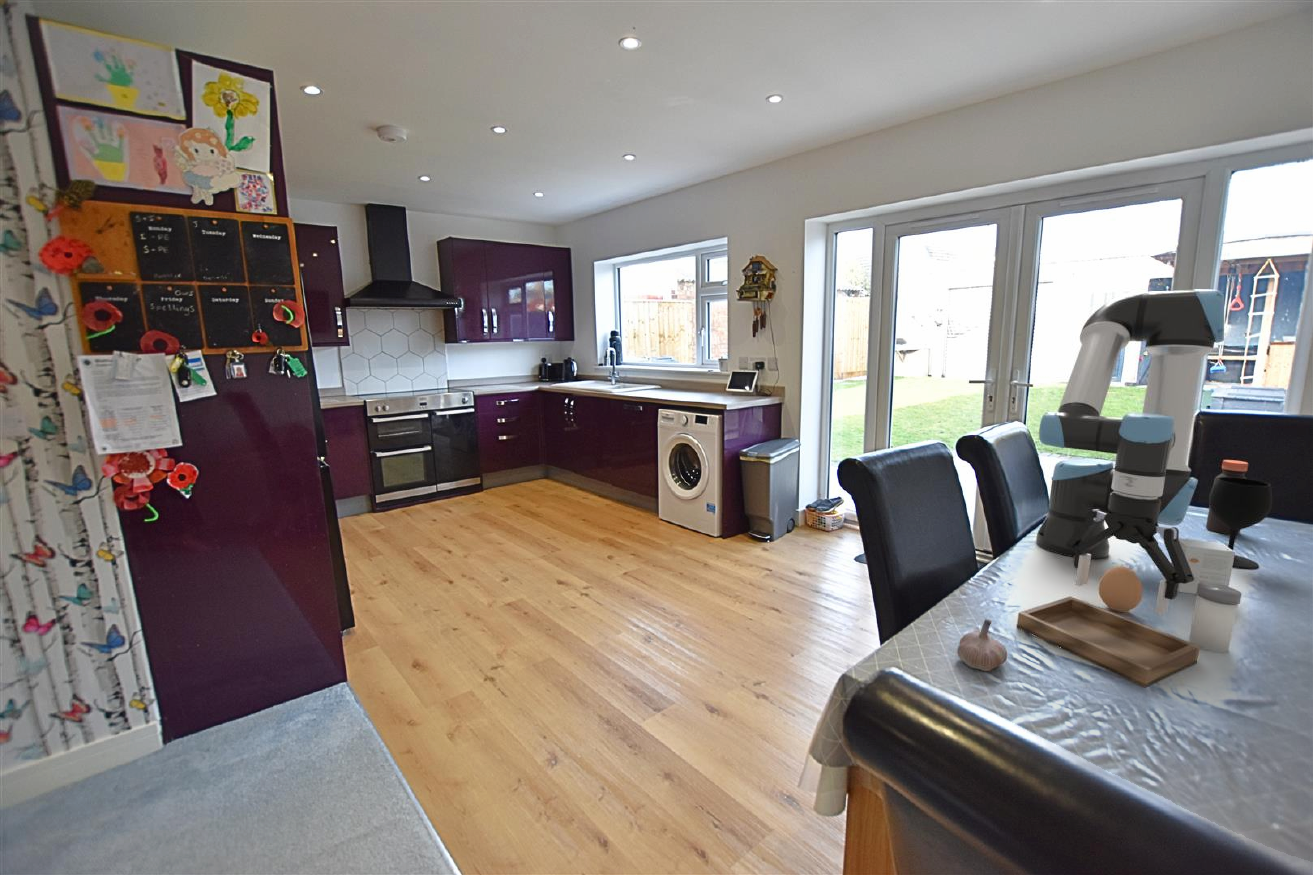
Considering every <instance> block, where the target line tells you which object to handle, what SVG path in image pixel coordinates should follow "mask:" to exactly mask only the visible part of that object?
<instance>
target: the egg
mask: <svg viewBox="0 0 1313 875" xmlns="http://www.w3.org/2000/svg"><path fill="white" fill-rule="evenodd" d="M1098 594H1099V596H1100V599H1101V601H1102V602H1103V603H1104V604H1105V606H1107V607H1108V608H1109V609H1111V610H1113V611H1115V612H1120V613H1121V612H1129V611H1132V610H1133V609H1135V608H1136V607H1138V605H1139V604H1140V602H1141V601H1142V598H1143V585H1142V583H1141V580H1140V579H1139V577H1138V575H1137V574H1136V573H1135V572H1134V571H1133V570H1132V569H1130V568H1129V567H1127V566H1123V565H1122V566H1115V567H1112V568H1109V570H1106V572H1105V573H1104V575H1102V576H1101V579H1100V581H1099V583H1098Z"/></svg>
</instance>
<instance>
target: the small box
mask: <svg viewBox="0 0 1313 875" xmlns="http://www.w3.org/2000/svg"><path fill="white" fill-rule="evenodd" d="M1179 542H1180V545H1181V547H1182V550H1183V552H1184V555H1185V557H1186V559H1187V562H1188V564H1189V567H1190V569H1191V572H1192V574H1193V576H1194V581H1192V582H1189V583H1185V584H1183V583H1179V586H1178V591H1177V593H1178V592H1179V593H1184V594H1191V595H1197V594H1196V592H1197V586H1198V583H1201V582H1208V583H1215V584H1220V585H1224V586H1228V587H1230V580H1231V577H1232V576H1231V575H1232V572H1233V570H1232V569H1233V567H1232V566H1233V561H1234V555H1236V554H1235V553H1236V552H1235V551H1234V549H1233V550H1231V549H1230V548H1229V547H1228V545H1225V544H1224V543H1223V542H1218V541H1217V542H1216V541H1207V540H1197V539H1191V538H1190V539H1188V538H1180V537H1179ZM1170 563H1171V564H1172V561H1170ZM1172 565H1173V564H1172ZM1173 567H1174V566H1173Z"/></svg>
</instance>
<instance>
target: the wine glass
mask: <svg viewBox="0 0 1313 875" xmlns="http://www.w3.org/2000/svg"><path fill="white" fill-rule="evenodd" d="M1208 502H1209V503H1208V504H1209V505H1208V506H1209V507H1210V509H1211V511H1212V512H1213V514H1214V515H1215V516H1216V518H1217V519H1218V520H1220V521H1221V522H1222V523H1223V524H1224V525H1226V526H1227V527H1228V528H1229V530H1230V534H1229V537H1228V544H1227V547H1229V548H1230V549H1231V550H1233V551H1234V548H1235V543H1236V542H1235V541H1236V538H1237V535H1238V534H1237V533H1238V531H1239V530H1240V531H1241V530H1243V529H1247V528H1250V527H1253V526H1255V525H1257V524H1259V523H1260V522H1262V521H1263V520H1265V519H1266V518H1267V516H1268V515H1269V514H1270V513H1271V512H1270V511H1271V509H1272V507H1273V502H1274V501H1273V490H1272V487H1271V484H1270V483H1268V482H1264V481H1261V480H1257V479H1250V478H1247V479H1244V478H1235V477H1219V478H1218V479H1217V480H1216V482H1215V484H1214V483H1213V485H1212V488H1211V490H1210V493H1209V496H1208ZM1259 567H1260V565H1259V563H1258V562H1256V561H1254V560H1252V559H1250V558H1246V557H1244V556H1241V555H1237V554H1235V555H1234V561H1233V566H1232V569H1233V568H1234V569H1241V570H1256V569H1258V568H1259Z"/></svg>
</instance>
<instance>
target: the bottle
mask: <svg viewBox="0 0 1313 875" xmlns="http://www.w3.org/2000/svg"><path fill="white" fill-rule="evenodd" d="M1248 467H1249V463H1248V462H1247V461H1241V460H1235V459H1234V460H1232V459H1223V460H1222V465H1221V468H1222V469H1221V470H1222V473H1220V474H1219V475H1216V476H1215V478H1214V482H1213V485H1214V484H1215V482H1216V480H1217V479H1218V478H1219V477H1235V478H1244V479H1248V478H1247V477H1246V476H1245V474H1247V472H1248ZM1208 508H1209V509H1208V512H1207V513H1208V514H1207V518H1206V525H1205V527H1206V529H1207V530H1208V531H1211V532H1213V533H1214V532H1215V533H1217V534H1218V533H1219V534H1223V535H1224V534H1225V535H1230V530H1229V528H1228V527H1227V526H1226V525H1224V524H1223V523H1222V522H1221V521H1220V520H1218V519H1217V518H1216V516H1215V515H1214V514H1213V512H1212V511H1211V509H1210V506H1209V507H1208ZM1240 533H1241V530H1239V531H1238V533H1237V535H1239V534H1240Z"/></svg>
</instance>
